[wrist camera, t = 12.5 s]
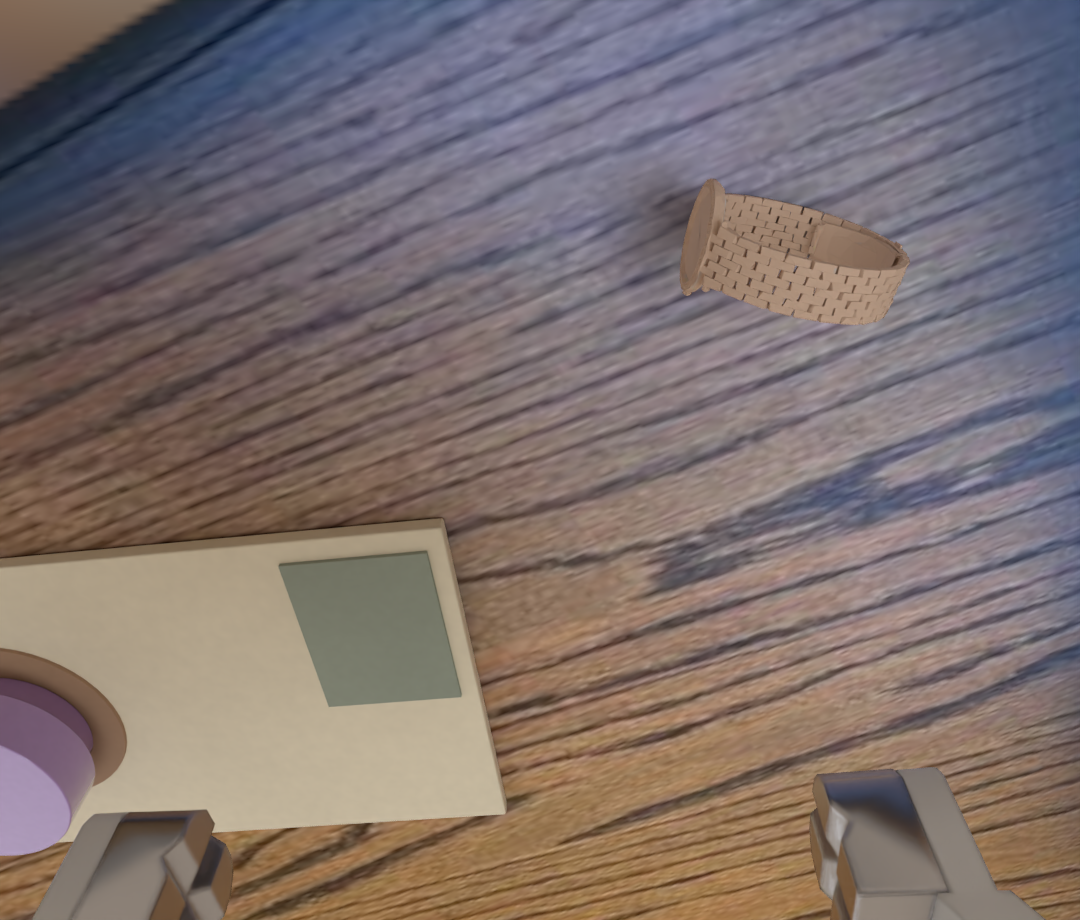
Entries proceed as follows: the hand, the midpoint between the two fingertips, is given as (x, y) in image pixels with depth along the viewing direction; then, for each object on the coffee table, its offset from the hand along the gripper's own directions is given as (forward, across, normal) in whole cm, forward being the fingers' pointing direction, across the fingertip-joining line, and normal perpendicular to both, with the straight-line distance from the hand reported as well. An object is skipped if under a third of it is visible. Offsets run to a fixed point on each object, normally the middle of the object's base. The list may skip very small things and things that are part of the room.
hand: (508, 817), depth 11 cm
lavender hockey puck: (+14, +20, +12) cm, 27 cm away
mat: (+14, +14, +12) cm, 24 cm away
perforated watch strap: (+15, -6, -3) cm, 16 cm away
